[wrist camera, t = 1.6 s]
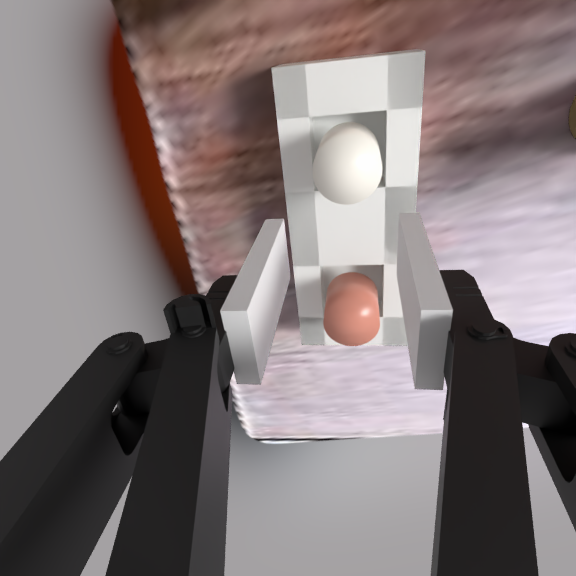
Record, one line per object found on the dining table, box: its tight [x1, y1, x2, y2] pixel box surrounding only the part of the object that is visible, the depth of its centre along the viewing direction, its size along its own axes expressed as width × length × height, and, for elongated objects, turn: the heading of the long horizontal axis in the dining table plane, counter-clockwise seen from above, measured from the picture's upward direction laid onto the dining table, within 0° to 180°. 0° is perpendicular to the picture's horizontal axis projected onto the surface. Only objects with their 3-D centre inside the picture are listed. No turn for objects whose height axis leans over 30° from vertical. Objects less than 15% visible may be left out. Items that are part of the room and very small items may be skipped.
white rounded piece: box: [312, 122, 382, 205], centre depth 28 cm, size 4×4×4 cm
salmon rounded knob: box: [323, 272, 380, 346], centre depth 34 cm, size 4×4×4 cm
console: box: [271, 49, 425, 346], centre depth 35 cm, size 24×10×4 cm, turn 6°
